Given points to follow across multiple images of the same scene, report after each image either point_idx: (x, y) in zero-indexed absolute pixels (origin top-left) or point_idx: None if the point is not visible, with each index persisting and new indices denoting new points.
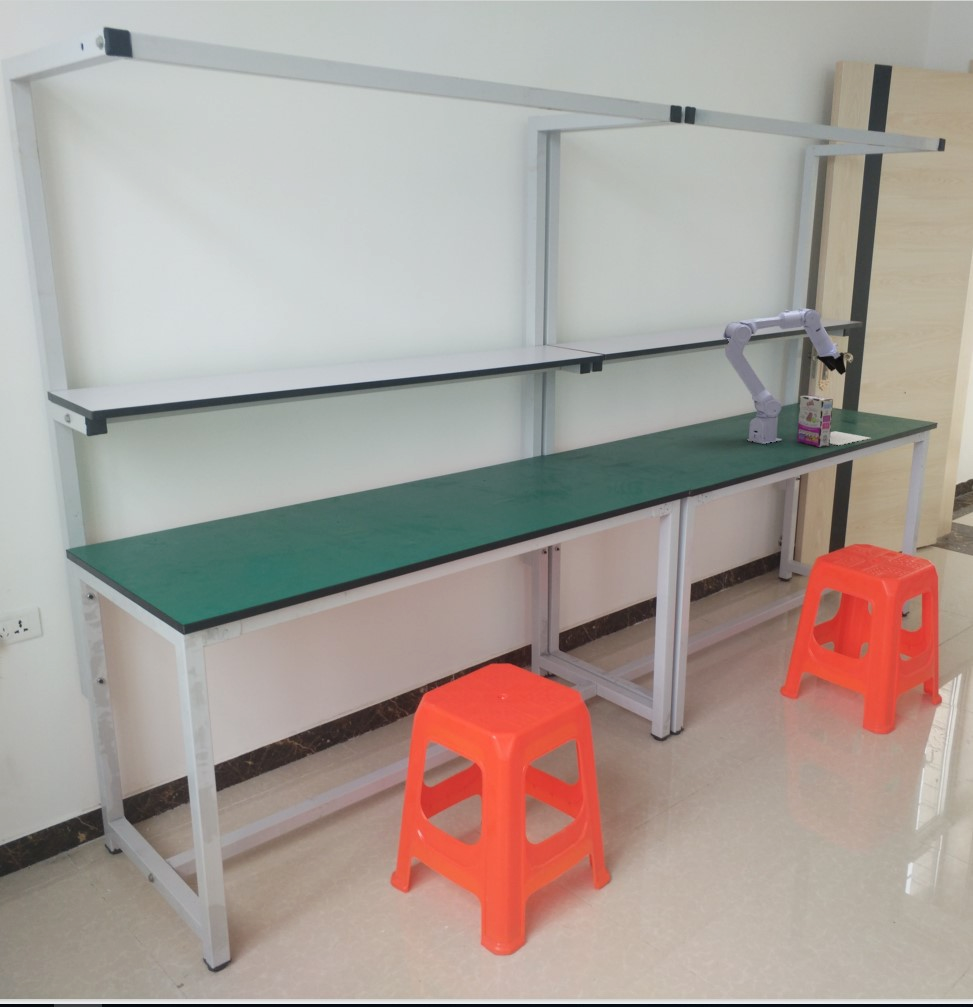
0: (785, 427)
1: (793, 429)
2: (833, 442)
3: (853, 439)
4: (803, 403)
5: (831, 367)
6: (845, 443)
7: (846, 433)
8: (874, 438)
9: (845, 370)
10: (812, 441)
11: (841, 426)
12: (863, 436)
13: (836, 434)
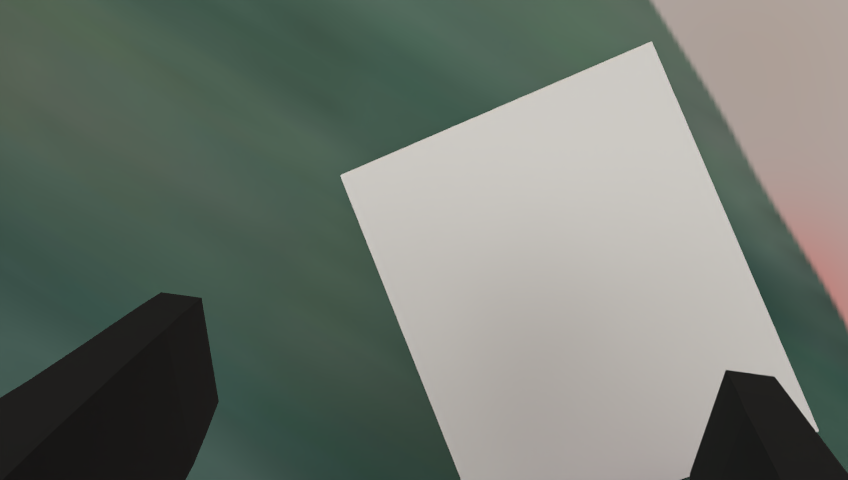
0: None
1: None
2: None
3: (667, 210)
4: None
5: (177, 440)
6: (783, 350)
7: (442, 137)
8: (639, 7)
9: (789, 406)
10: None
11: (159, 10)
12: (587, 72)
13: (451, 231)
